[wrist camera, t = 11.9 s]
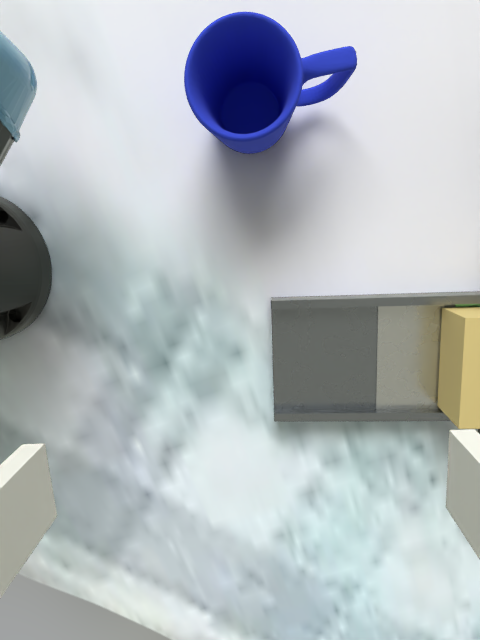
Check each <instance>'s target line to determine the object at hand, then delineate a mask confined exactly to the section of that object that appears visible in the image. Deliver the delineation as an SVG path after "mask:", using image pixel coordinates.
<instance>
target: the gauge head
mask: <svg viewBox="0 0 480 640" xmlns="http://www.w3.org/2000/svg"><path fill="white" fill-rule="evenodd" d="M437 406H438V407H439V408H440V409H441V410H442V411H443V412H444V414H445V415H446V416H447V417H448V418H449V419H450V420H451V421H452V422H453V423H454V424H455V425H456V426H457V427H458V428H459V429H478V433H479V434H480V307H452V308H442V322H441V342H440V362H439V383H438V403H437Z"/></svg>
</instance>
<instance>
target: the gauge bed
mask: <svg viewBox="0 0 480 640" xmlns="http://www.w3.org/2000/svg"><path fill="white" fill-rule="evenodd" d="M452 307H480V291H477V292H443V293H408V294H374V295H340V296H305V297H271V309H272V344H273V381H274V421H451V420H450V419H449V418H448V417H447V416H446V415H445V414H444V412H443V411H442V410H441V409H440V408H439V407H438V406H437V403H438V383H439V362H440V342H441V322H442V308H452Z"/></svg>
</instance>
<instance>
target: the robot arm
mask: <svg viewBox="0 0 480 640" xmlns="http://www.w3.org/2000/svg"><path fill="white" fill-rule="evenodd" d="M36 90H37V81H36V76H35V73H34V70H33V68H32V66H31V64H30V62H29V61H28V60H27V58H26V57H25V56H24V54H23V53H22V52H21V51H20V50H19V49H18V48H17V47H16V46H15V45H14V44H13V43H12V42H11V41H10V40H9V39H8V38H7V37H6V36H5V35H4V34H3V33H2V32H1V31H0V166H1V164H2V162H3V160H4V159H5V157H6V155H7V153H8V151H9V149H10V148H11V146H12V144H13V142H14V141H15V142H17V141H18V140H19V138H20V133H19V129H20V127H21V125H22V123H23V121H24V118H25V116H26V114H27V112H28V110H29V108H30V106H31V104H32V102H33V99H34V97H35V95H36ZM50 286H51V262H50V257H49V253H48V250H47V247H46V244H45V242H44V239H43V237H42V235H41V233H40V232H39V230H38V229H37V227H36V226H35V224H34V223H33V222H32V220H31V219H30V218H29V217H28V216H27V215H26V214H25V213H24V212H23V211H22V210H21V209H20V208H18V207H17V206H16V205H14V204H13V203H11V202H10V201H8V200H6V199H4V198H2V197H0V340H1V339H4V338H6V337H9V336H12V335H14V334H16V333H18V332H20V331H22V330H23V329H25V328H26V327H28V326H29V325H30V324H31V323H32V322H33V321H34V320H35V319H36V318H37V317H38V315H39V314H40V312H41V311H42V309H43V307H44V305H45V303H46V301H47V298H48V295H49V291H50ZM446 508H447V510H448V512H449V513H450V515H451V516H452V518H453V519H454V521H455V522H456V524H457V525H458V527H459V528H460V530H461V532H462V533H463V535H464V536H465V538H466V539H467V541H468V542H469V544H470V545H471V547H472V548H473V550H474V552H475V553H476V555H477V556H478V558H479V559H480V434H479V433H478V432H477V431H476V430H475V429H467V430H449V449H448V470H447V491H446ZM56 517H57V512H56V506H55V500H54V494H53V489H52V483H51V477H50V471H49V465H48V460H47V454H46V448H45V444H22V445H21V446H20V447H19V448H18V449H17V450H16V451H15V452H14V453H13V454H11V455H10V456H9V457H8V458H7V459H6V460H5V461H4V462H3V463H2V464H1V465H0V598H1V597H2V595H3V594H4V592H5V591H6V589H7V588H8V587H9V585H10V584H11V582H12V581H13V579H14V578H15V576H16V575H17V574H18V572H19V571H20V569H21V568H22V566H23V565H24V563H25V562H26V561H27V559H28V558H29V556H30V555H31V553H32V552H33V551H34V549H35V548H36V546H37V545H38V543H39V542H40V540H41V539H42V538H43V536H44V535H45V533H46V532H47V530H48V529H49V527H50V526H51V525H52V523H53V522H54V520H55V519H56Z"/></svg>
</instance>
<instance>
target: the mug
mask: <svg viewBox="0 0 480 640" xmlns="http://www.w3.org/2000/svg"><path fill="white" fill-rule="evenodd" d="M356 66H357V57H356V51H355V49H354V48H353V47H351V46H348V47H342V48H337V49H333V50H328V51H324V52H320V53H317V54H313V55H310V56H308V57H305V58H301V57H300V53H299V51H298V48H297V46H296V44H295V42H294V40H293V39H292V37H291V36H290V34H289V33H288V32H287V31H286V30H285V29H284V28H283V27H282V26H281V25H280V24H279V23H277V22H276V21H275V20H273V19H271V18H269V17H267V16H265V15H262V14H258V13H253V12H237V13H232V14H229V15H225V16H223V17H221V18H219V19H217V20H216V21H214V22H213V23H211V24H210V25H209V26H207V27H206V28H205V29H204V30H203V31H202V32H201V34H200V35H199V36H198V37H197V39H196V40H195V42H194V44H193V46H192V48H191V50H190V52H189V55H188V58H187V61H186V66H185V75H184V82H185V91H186V96H187V99H188V102H189V105H190V107H191V109H192V111H193V113H194V115H195V116H196V118H197V119H198V120H199V122H200V123H201V124H202V125H203V126H204V127H205V128H206V129H207V130H209V131H210V132H211V133H212V134H213V135H214V136H216V137H217V138H218V139H219V140H220V141H221V142H223V143H224V144H225V145H226V146H228V147H229V148H231V149H233V150H235V151H237V152H241V153H248V154H250V153H258V152H261V151H264V150H266V149H268V148H270V147H271V146H273V145H274V144H275V143H276V142H277V141H278V140H279V139H280V138H281V136H282V135H283V133H284V131H285V129H286V127H287V125H288V123H289V121H290V118H291V116H292V114H293V112H294V110H295V107H296V106H306V105H311V104H315V103H319V102H321V101H324V100H326V99H328V98H330V97H331V96H333V95H334V94H335V93H337V92H338V91H339V90H340V89H341V88H342V87H343V86H344V84H345V83H346V82H347V81H348V79H349V78H350V76H351V75H352V73H353V72H354V70H355V69H356ZM329 74H333V75H332V76H331V77H330V78H329V79H327V80H326V81H325V82H323V83H321V84H319V85H317V86H315V87H312V88H308V89H303V90H302V86H303V84H304V83H305V82H306V81H308V80H310V79H313V78H316V77H320V76H324V75H329Z"/></svg>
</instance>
